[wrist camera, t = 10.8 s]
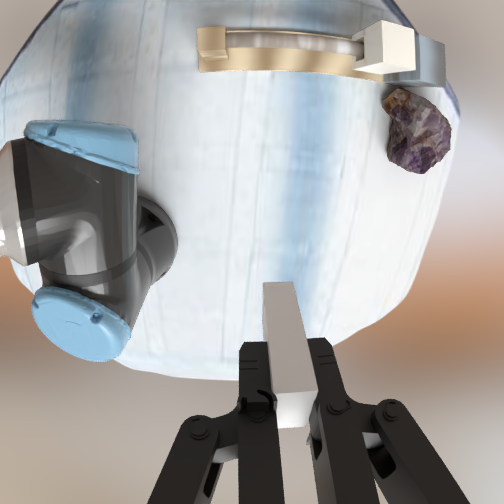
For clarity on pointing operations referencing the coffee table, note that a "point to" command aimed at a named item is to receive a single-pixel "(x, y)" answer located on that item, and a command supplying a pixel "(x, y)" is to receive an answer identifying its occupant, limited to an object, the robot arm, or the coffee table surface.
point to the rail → (310, 55)
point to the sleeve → (385, 48)
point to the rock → (416, 131)
